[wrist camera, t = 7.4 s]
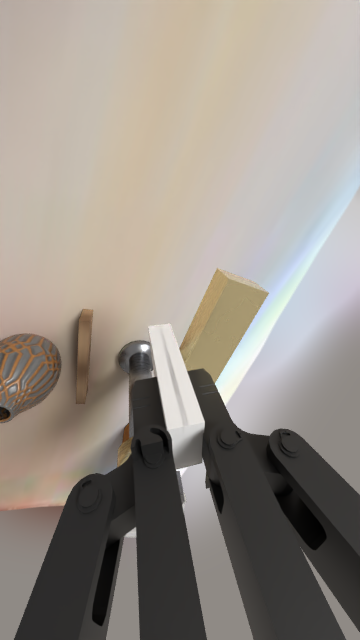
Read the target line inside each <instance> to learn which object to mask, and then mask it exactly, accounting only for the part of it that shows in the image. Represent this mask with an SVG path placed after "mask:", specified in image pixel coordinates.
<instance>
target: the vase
mask: <svg viewBox="0 0 360 640" xmlns="http://www.w3.org/2000/svg"><path fill="white" fill-rule="evenodd" d="M60 372H61V357H60V354H59V351H58V349H57V348H56V346H55V345H54V344H53V343H52V342H51V341H49V340H48V339H46V338H44V337H42V336H39V335H35V334H18V335H14V336H11V337H8V338H6V339H4V340H2V341H0V423H5V422H8V421H10V420H12V419H13V418H14V417H15V416H16V415H18V414H19V413H21V412H24V411H26V410H28V409H30V408H32V407H34V406H36V405H37V404H39V403H40V402H41V401H43V400H44V399H45V398H46V397H47V396H48V395H49V394H50V392H51V391H52V390H53V388H54V387H55V385H56V383H57V381H58V379H59V376H60Z"/></svg>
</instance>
